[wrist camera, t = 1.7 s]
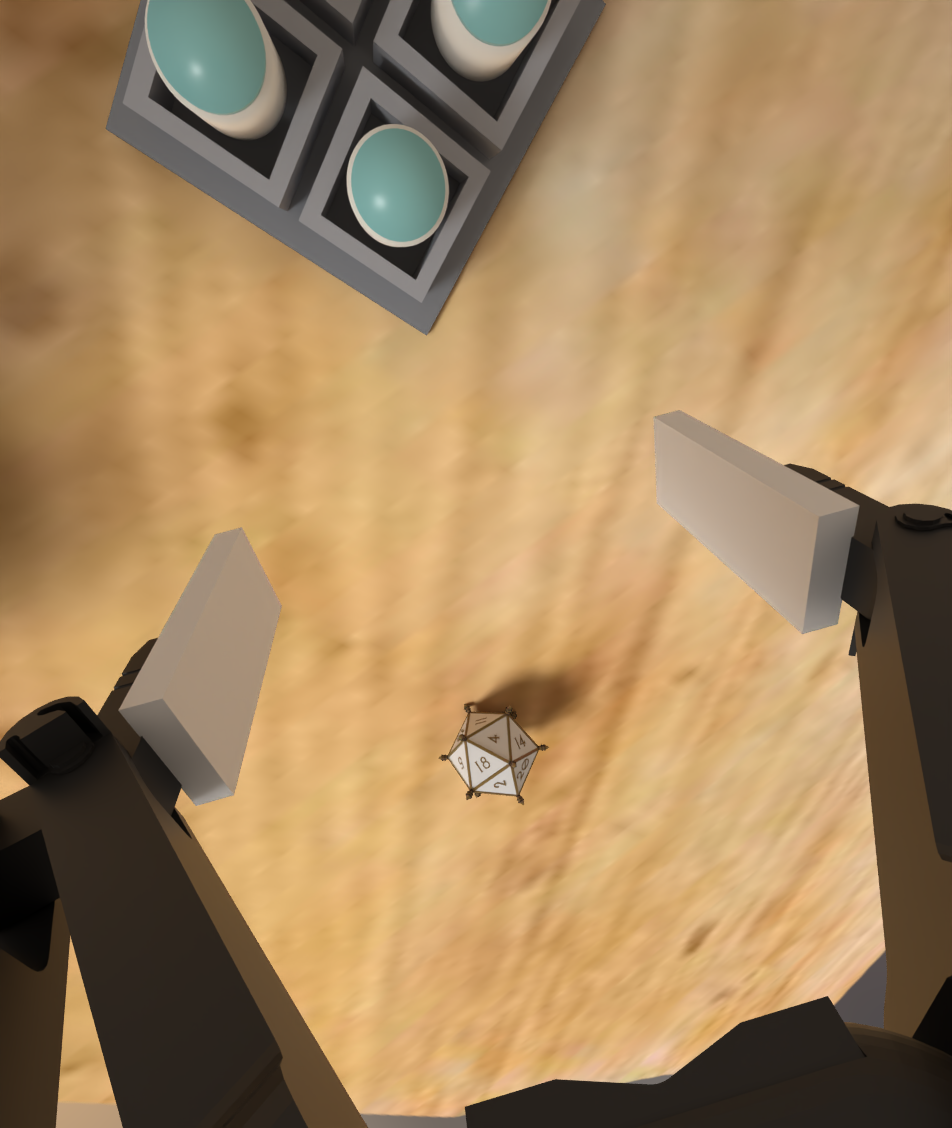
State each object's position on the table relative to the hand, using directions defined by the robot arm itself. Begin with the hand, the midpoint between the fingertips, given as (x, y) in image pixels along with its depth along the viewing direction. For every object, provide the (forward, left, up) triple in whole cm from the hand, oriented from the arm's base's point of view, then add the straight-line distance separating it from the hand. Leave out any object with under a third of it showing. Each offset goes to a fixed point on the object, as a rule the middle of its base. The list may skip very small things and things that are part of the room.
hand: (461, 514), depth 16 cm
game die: (+22, -25, -23) cm, 40 cm away
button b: (-5, +7, -19) cm, 21 cm away
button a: (-5, +15, -19) cm, 25 cm away
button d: (-13, +7, -19) cm, 24 cm away
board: (-9, +11, -22) cm, 27 cm away
